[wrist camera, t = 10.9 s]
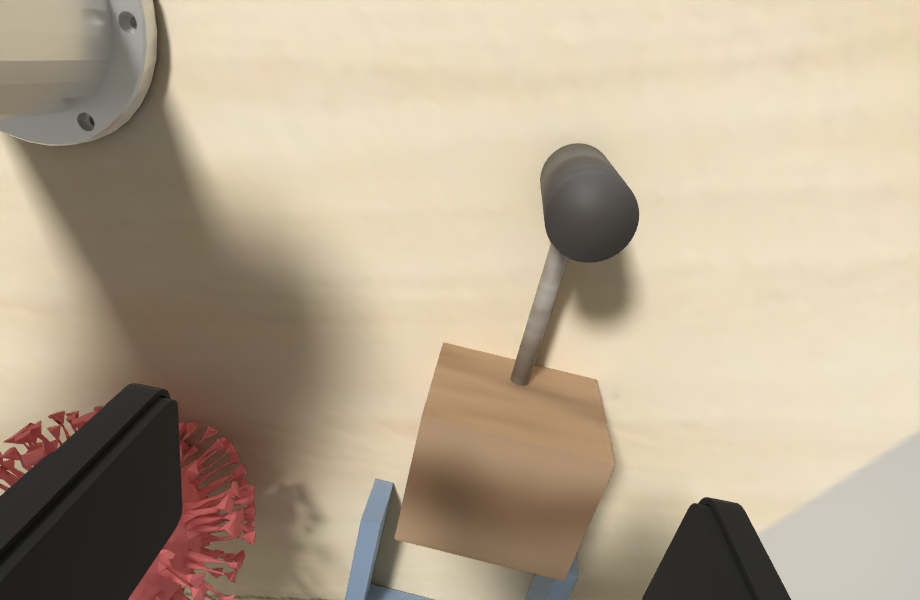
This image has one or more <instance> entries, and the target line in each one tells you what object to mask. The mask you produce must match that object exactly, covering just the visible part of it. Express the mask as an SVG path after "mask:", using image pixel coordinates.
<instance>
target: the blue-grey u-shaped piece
mask: <svg viewBox="0 0 920 600" xmlns="http://www.w3.org/2000/svg"><path fill="white" fill-rule="evenodd" d="M392 487H393V483H390V482H386V481H382V480H378V479H375V482H374V485H373V488H372V491H371V493H370V496H369V499H368V502H367V505H366V507H365V510H364V513H363V516H362V519H361V523H360V528H359V532H358V537H357V542H356V547H355V552H354V557H353V562H352V567H351V572H350V577H349V582H348V587H347V592H346V597H345V600H432V599H428V598H424V597H420V596H417V595H413V594H409V593H405V592H401V591H397V590H393V589H389V588H386V587H382V586H378V585H374V584H371V579H372V575H373V571H374V566H375V562H376V557H377V553H378V549H379V544H380V540H381V536H382V531H383V527H384V522H385V518H386V514H387V509H388V505H389V500H390V496H391V492H392ZM577 578H578V568H577V558H576V555H575V558H574V560H573V562H572V564H571V567H570V569H569V571H568V573H567V576H566V578H565V580H564V581H561V580H557V579H553V578H549V577H545V576H541V575H537V574H535V576H534V579H533V581H532V583H531V586H530V588H529V591H528V593H527V595H526V598H525V600H567V599H568V597H569V595H570V593H571V591H572V588H573V586H574V584H575V582H576V580H577Z"/></svg>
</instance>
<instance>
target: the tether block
mask: <svg viewBox="0 0 920 600" xmlns="http://www.w3.org/2000/svg"><path fill="white" fill-rule="evenodd" d="M540 183H541V193H542V202H543V211H544V221H545V228H546V232H547V235H548V238H549V240H550V242H551V246H550V249H549V252H548V256H547V259H546V262H545V265H544V269H543V272H542V275H541V279H540V282H539V285H538V289H537V292H536V295H535V299H534V302H533V305H532V309H531V312H530V315H529V318H528V322H527V325H526V328H525V332H524V335H523V338H522V342H521V345H520V348H519V352H518V355H517V358H516V360H513V359H509V358H505V357H501V356H497V355H493V354H489V353H485V352H480V351H476V350H472V349H468V348H464V347H460V346H456V345H452V344H448V343H443V345H442V349H441V352H440V355H439V359H438V362H437V366H436V369H435V373H434V376H433V380H432V383H431V387H430V390H429V394H428V397H427V401H426V404H425V407H424V411H423V414H422V418H421V423H420V427H419V431H418V436H417V440H416V445H415V449H414V454H413V458H412V462H411V467H410V471H409V476H408V480H407V485H406V489H405V493H404V498H403V502H402V507H401V511H400V516H399V520H398V524H397V529H396V533H395V538H394V539H396V540H400V541H404V542H408V543H412V544H416V545H420V546H424V547H428V548H432V549H436V550H440V551H444V552H448V553H452V554H456V555H460V556H464V557H468V558H472V559H476V560H480V561H484V562H488V563H492V564H496V565H500V566H504V567H508V568H512V569H516V570H520V571H525V572H529V573H533V574H537V575H541V576H545V577H549V578H553V579H557V580H561V581H564V580H565V578H566V576H567V573H568V571H569V569H570V567H571V564H572V562H573V560H574V558H575V555H576V553H577V551H578V548H579V546H580V544H581V542H582V539H583V537H584V535H585V532H586V530H587V528H588V526H589V523H590V521H591V519H592V517H593V514H594V512H595V510H596V507H597V505H598V503H599V501H600V498H601V496H602V494H603V491H604V489H605V487H606V485H607V482H608V480H609V478H610V476H611V473H612V471H613V469H614V466H615V460H614V455H613V451H612V446H611V442H610V437H609V432H608V428H607V423H606V419H605V414H604V409H603V405H602V400H601V396H600V391H599V386H598V382H597V380H595V379H591V378H587V377H583V376H579V375H575V374H571V373H567V372H563V371H558V370H554V369H550V368H546V367H542V366H538V365H535V362H536V359H537V356H538V352H539V349H540V346H541V343H542V340H543V337H544V334H545V331H546V328H547V324H548V321H549V318H550V315H551V312H552V309H553V306H554V303H555V300H556V296H557V293H558V290H559V287H560V284H561V281H562V278H563V275H564V272H565V268H566V265H567V262H568V259H569V258H570V259H572V260H576V261H580V262H598V261H602V260H606V259H608V258H610V257H613V256H614V255H616V254H618V253H619V252H620V251H621V250H623V249H624V248H625V247H626V246H627V245H628V243H629V242H630V241H631V239H632V238H633V236H634V234H635V232H636V229H637V226H638V221H639V208H638V204H637V200H636V198H635V196H634V194H633V192H632V191H631V189H630V188H629V187H628V186H627V184H626V183H625V182H624V180H623V179H622V178H621V176H620V175H619V174H618V173H617V171H616V170H615V169H614V167H613V166H612V165H611V164H610V162H609V161H608V160H607V158H606V157H605V156H604V155H603V154H602V153H601V152H600V151H599V150H598V149H596V148H594V147H592V146H590V145H587V144H570V145H566V146H564V147H562V148H560V149H558V150H557V151H555V152H554V153H553V154H552V155H551V156H550V157H549V158H548V159H547V161H546V162H545V164H544V166H543V169H542V172H541V178H540Z"/></svg>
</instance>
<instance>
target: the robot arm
mask: <svg viewBox="0 0 920 600" xmlns="http://www.w3.org/2000/svg"><path fill="white" fill-rule="evenodd" d="M136 22H137V24H136ZM156 56H157V27H156V19H155V11H154V4H153V0H0V131H1V132H3V133H5V134H7V135H10V136H13V137H16V138H18V139H21V140H24V141H27V142H30V143H36V144H42V145H48V146H63V145H76V144H80V143H85V142H90V141H95V140H97V139H99V138H102V137H104V136H107V135H109V134H111V133H113V132H115V131H116V130H117V129H119V128H120V127H121V126H122V125H124V124H125V123H126V122H128V121H129V120H130V118H131V117H132V116H133V115H134V113H135V112H136V111H137V109H138V108H139V107H140V106H141V104H142V102H143V100H144V98H145V96H146V94H147V91H148V89H149V87H150V85H151V82H152V77H153V73H154V68H155V64H156ZM182 507H183V506H182V484H181V462H180V440H179V418H178V404H177V402H176V401H175V400H172V399H170V395H169V393H168V391H167V390H165V389H160V388H155V387H150V386H145V385H140V384H135V383H133V384H129V385H128V386H127V387H125V388H124V389H123V390H122V391H121V392H120V393H118V394H117V395H116V396H115V397H114V398H113V399H112V400H111V401H110V402H108V403H107V404H106V405H105V406H104V407H103V408H102V409H101V410H100V411H99V412H97V413H96V414H95V415H94V416H93V417H92V418H91V419H90V420H89V421H88V422H86V423H85V424H84V425H83V426H82V427H81V428H80V429H79V430H78V431H77V432H75V433H74V434H73V435H72V436H71V437H70V438H69V439H68V440H67V441H65V442H64V443H63V444H62V445H61V446H60V447H59V448H58V449H57V450H56V451H54V452H52V453H50V454H48V455H47V456H46V457H44V458H43V459H41V460H40V461H39V462H38V463H37V464H36V465H35V466H34V467H32V468H31V469H30V470H29V471H28V472H27V473H26V474H25V475H24V476H22V477H21V478H20V479H19V480H18V481H17V482H16V483H15V484H14V485H12V486H11V487H10V488H9V489H8V490H7V491H6V492H5V493H4V494H2V495H1V496H0V600H128V599H129V597H130V596H131V594H132V593H133V591H134V590H135V589H136V587H137V586H138V584H139V583H140V581H141V580H142V578H143V577H144V575H145V574H146V572H147V571H148V569H149V568H150V566H151V565H152V563H153V562H154V560H155V559H156V557H157V556H158V554H159V553H160V551H161V550H162V549H163V547H164V546H165V544H166V543H167V541H168V540H169V538H170V537H171V535H172V534H173V532H174V531H175V529H176V527H177V525H178V523H179V521H180V518H181V515H182ZM642 600H791V598H790V597H789V595H788V593H787V591H786V589H785V587H784V585H783V583H782V582H781V579H780V577H779V575H778V574H777V572H776V570H775V568H774V566H773V564H772V562H771V560H770V558H769V556H768V555H767V553H766V551H765V549H764V547H763V545H762V543H761V541H760V539H759V537H758V535H757V533H756V531H755V529H754V527H753V526H752V524H751V522H750V520H749V518H748V516H747V514H746V512H745V510H744V509H743V508H742V506H741V505H739V504H738V503H734V502H729V501H724V500H719V499H713V498H708V497H705V498H703V499H701V501H700V502H699V503H698V504H696V503H693V504H692V505H691V506H690V507H689V509H688V510H687V512H686V514H685V516H684V518H683V520H682V522H681V524H680V526H679V528H678V530H677V532H676V534H675V536H674V538H673V540H672V542H671V544H670V545H669V547H668V549H667V551H666V553H665V555H664V557H663V559H662V561H661V563H660V565H659V567H658V569H657V571H656V573H655V575H654V577H653V579H652V580H651V582H650V584H649V586H648V588H647V590H646V592H645V594H644V596H643V599H642Z"/></svg>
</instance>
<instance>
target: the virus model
mask: <svg viewBox="0 0 920 600" xmlns="http://www.w3.org/2000/svg"><path fill="white" fill-rule="evenodd" d="M102 407H103V406H100V407H95V408H94V410H95V411H94V412H92V413H89V414H86V415H84V416H81V417H79V418H78V415H79V411H76V412H72V413H68V414H66V415H67V416H68V417H67V419H66V420H67V421H68V422H69V423H71V426H72V428H73V430H74V432H77V431H76V427H77V428H78V430H79V429H80V428H81V427H82V426H83V425H84V424H85V423H86V422H88V421H89V420H90V419H91V418H92V417H93V416H94V415H95V414H96V413H97V412H99V411H100V410H101V409H102ZM64 415H65V411H61V412H58V413H55V414H52V415H49V416H48V417H49V418H51V419H53V420H54V421H55V422H57V423H58V424H59V426H54V427H50V428H47V429H48V430H49V431H50V433H51V434H52V435H53V436H54V437H55V438H56V440H54V441H52V442H50V441H48V440H47V439H46V438H45V437H44V436H43V435H42V434H41V421H39V422H37V423H36V424H33V423H30V424H28V425H27V426H26V427H24V428H23V429H22V430H20V431H19V432H18V433H16V434H15V435H14V436H12V437H10V438H9V439H7V440H6V441H4V442H6V443H16V444H24V445H25V446H26V448H27V449H28V451H27V452H26V454H23V455H20V454H19V452H18V451H17V449H16V448H15V447H12V448H10V449H9V450H8V451H6V452H5V453H4V454H3V455H2V454H1V452H0V465H1V466H0V479H3V480H4V481H6V482H7V483H8V484H9V485H10V486H12V485H14V484H15V483H16V482H17V481H18V480H19V479H20V478H21V477H22V476H24V475H25V474H24V473H23V472H21V471H19V470H17V469H15V468H14V460H20V461H21V464H22V466H23V467H24V468H25V469H26V470H28V471H29V470H30V469H31V468H32V467H30V466H35V465H36V464H37V463H38V462H39V461H40V460H41V459H43V458H44V457H46V456H47V455H48V454H50V453H52V452H54V451H56V450H57V445H58V442H59V444H60V446H61V445H62V442H61V441H60V439H59V436H60V427H61V426H62V427H63V429H64V432H65V435H66V438H67V440H68V439H69V438H70V435H69V434H68V432H67V430H66V429H65V427H64V425H63V423H64ZM198 425H199V423H194V422H190V423H188V424H187V423H186V422H179V439H181V438H182V436H181V434H182V433H184V432H185V431H186V435H185V437H184V438H183V440H180V462H181V466H182V463H183V462H184V461H185V460H186V459H187V458H189V457H190V456H192V455H193V454H195V453H197V452H199V451H198V450H197V448H196V447H197V446H198V445H197V446H196V447H195V446H194V445H193V446H191V447H190V448H189V447H188V445H187V444H186V443H185V442H184V439H186V438H187V437H188V436H189V435H190V434H192V433H193V432H194V431H195V430H196V428H197V426H198ZM216 433H218V431H216V430H214V429H213V428H211V427H209V426H208V427H207V429H206V432H205V434H204V436H203V438H202V439H201V440H200V442H201V441H202V440H204V439H206V438H208V437H210V436H212V435H214V434H216ZM37 437H38V438H40V439H41V440H42V441H43V444H42V442H40V443H36V441H37ZM25 442H26V443H28V444H29V446H30V447H28V446H27V445H26V444H25ZM31 442H32V443H33V444H34V445H33V444H32V443H31ZM200 442H199V443H200ZM199 443H198V444H199ZM43 445H44V449H45V450H44V449H43ZM213 449H216V451H220V450H225V449H227V451H226V454H231V453H232V455H231V457H230V459H229V461H228V463H226V464H224V465H223V466H221V467H219V468H217V469H215V470H213V471H212V472H210V473H208V474H206V475H204V476H202V477H201V478H199V479H197V480H195V481H193V480H194V479H195V478H196V477H197V476H198V475H200V474H201V472H202V471H204V470H205V469H207V468H208V467H210V466H211V465H213V464H214V463H215V462H216V461H217V460H219V459H220V458H221V457H223V456H224V455H223V456H221V457H220V458H219V459H217V460H216V461H215V462H213V463H212V464H211V465H209V466H208V467H207V468H205V469H203V467H202V466H200V465H201V464H202V463H204V462H205V461H206V460H207V459H208V458H209V457H210V456H211V455H212V454H214V453H215V452H216V451H215V452H214V453H212V454H210V455H209V456H207V457H206V458H204V457H205V456H206V454H208V453H209V452H211V451H212V450H213ZM186 451H187V453H188V454H187V455H186V456H184V457H183V458H182V452H186ZM226 454H225V455H226ZM3 458H7V459H10V460H7V461H4V462H3ZM203 458H204V459H203ZM202 459H203V460H202ZM239 461H241V460H240V459H239V457H238V456H237V454H236V451H235V448H234V447H233V446H232V444H231V443H230V442H229V441H228V440H227V438H225V437H221V439H220V440H219V439H218V438H217V440H216V441H215V443H214V444H213V446H211V447H210V448H209V449H208V450H207V451H206V452H205V453H203V454H202V455H201V456H200V457H199V458H198V459H196V460H195V461H194V462H192V463H190V464H188V465H187V466H185V467H183V468H181V484H182V506H183V507H182V515H181V518H180V521H179V523H178V525H177V527H176V529H175V531H174V532H173V534H172V535H171V537H170V538H169V540H168V541H167V543H166V544H165V546H164V547H163V549H162V550H161V551H160V553H159V554H158V556H157V557H156V559H155V560H154V562H153V563H152V565H151V566H150V568H149V569H148V571H147V572H146V574H145V575H144V577H143V578H142V580H141V581H140V583H139V584H138V586H137V587H136V589H135V590H134V591H133V593H132V594H131V596H130V597H129V599H128V600H190V599H189V598H188V597H186V596H185V595H184V594H183V592H184V589H185V588H179V587H180V586H181V585H183V586H186V587H188V588H190V589H191V591H192V595H193V599H194V600H203V599H204V597H205V596H207V597H209V598H211V597H210V596H209V595H207V594H206V591H207V589H208V590H212V591H214V592H215V593H216V594H217V595H219V596H220V597H221V599H222V600H232V599H233V598H234V596H235V595H232V596H228V597H226V596H224V595H222V594H220V593H219V592H217V591H216V590H215V589H214V588H213V587H211V586H210V585H209V584H208V583H207V582H205V581H204V580H203V578H204V576H205V575H206V573H205V574H195V573H194V570H195V569H200V570H207V571H208V572H210V573H211V574H212V575H213V576H214V577H215V578H218V577H219V576H220V575H221V574H223V575H225V574H226V576H227V577H228V579H229V580H230V581H231V582H234V583H235V579H236V575H237V572H238V570H239V569H240V567H241V565H242V564H243V562H242V561H243V559H244V557H245V554H244V551H243V550H242V551H240V552H239V553H238V554H237V555H235V553H229V554H223V553H224V552H223V551H219V550H214V551H212V550H209V549H205V548H202V547H205V546H209V545H210V542H213V541H223V540H232V539H235V538H241V539H243V540H245V541H247V542H249V543H251V544H253V545H254V544H255V533H256V530H255V531H254V516H255V513H256V507H255V505H254V504H253V502H252V501H254V487H253V486H252V485H251V484H250V485H249V486H248V482H247V481H246V480H245V479H243V475H247V473H246V470H245V467H244V464H240V465H239V466H238V468H237V469H236V470H235V471H234V472H233V473H232V474H231V475H228V476H225V477H223V478H220V479H218V480H216V481H214V482H213V483H211V484H209V485H208V486H206V487H204V488H203V489H197V488H198V486H199V484H200V483H201V482H202V481H203V480H205V479H206V478H208V477H209V476H210V475H212V474H213V473H215V472H216V471H218V470H219V469H221V468H222V467H224V466H225V465H228V464H234V463H238V462H239ZM6 470H10V471H11V472H12V473H13V474H15V475H16V476H17V477H18V478H17V477H16V476H14V475H13V474H11V473H9V472H8V471H6ZM232 475H234V476H233V477H231V478H230V479H229V480H228V481H226V482H229V481H232V486H231V488H230V489H228V490H227V491H225V492H224V493H221V494H218V495H214V496H211V497H208V496H207V495H208V494H209V493H210V492H212V491H213V490H214V489H215V488H217V487H218V486H220V485H221V484H223V483H226V482H224V481H225V480H226V479H228V478H229V477H230V476H232ZM235 480H242V481H241V482H240V483H239V484H238V483H236V482H234V481H235ZM222 482H223V483H222ZM0 488H1V489H3V490H5V491H7V490H8V489H9V488H8V487H6V486H4V485H2V484H0ZM238 492H239V493H238ZM231 496H232V497H238V498H235V499H232V497H231ZM223 497H224V498H223ZM221 498H222V499H221ZM216 500H217V501H216ZM221 500H222V501H221ZM237 500H238V501H237ZM234 501H235V502H234ZM233 505H249V506H248V507H247V508H244V509H243V508H241V509H239V510H236V511H234V512H233ZM220 510H223V511H226V512H229V513H230V514H222V515H219V511H220ZM225 518H226V519H225ZM228 520H230V521H229V522H227V523H226V524H225V525H223V526H222V527H214V526H215V525H218V524H220V523H222V522H225V521H228ZM241 521H252V522H247V523H246V524H244V525H243V523H242V522H241ZM221 531H226V532H227V533H229V534H230V535H231V536H232V537H216V536H211V535H209V534H211V533H215V532H221ZM242 532H244V533H246V534H245V535H242V536H240V537H238V536H239V535H240V534H241V533H242ZM234 555H235V556H234ZM211 557H212V558H211ZM218 557H219V558H222V559H224V560H225V561H226V562H222V561H220V560H217V559H216V558H218ZM233 559H234V560H235V561H236V562H232V561H233ZM201 562H214V563H227V564H228V565H229V566H231V567H232V568H233V569H234V570H236V571H237V572H236V571H234V572H231V573H223V572H222V569H223V568H215V569H209V568H207V567H206V566H205V565H203V564H202V563H201ZM211 599H212V600H215V599H213V598H211Z"/></svg>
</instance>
